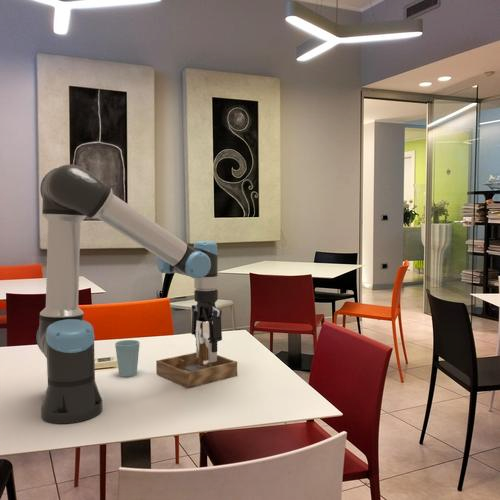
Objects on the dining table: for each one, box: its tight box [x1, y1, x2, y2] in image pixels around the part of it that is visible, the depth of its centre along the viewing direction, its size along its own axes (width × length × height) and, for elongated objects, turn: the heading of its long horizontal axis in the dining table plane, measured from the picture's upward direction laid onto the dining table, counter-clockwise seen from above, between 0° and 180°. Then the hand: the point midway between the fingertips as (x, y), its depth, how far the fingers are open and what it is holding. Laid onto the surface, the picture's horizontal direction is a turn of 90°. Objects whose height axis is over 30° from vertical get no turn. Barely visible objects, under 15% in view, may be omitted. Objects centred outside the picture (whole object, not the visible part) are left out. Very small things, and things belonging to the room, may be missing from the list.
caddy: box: [155, 351, 238, 389], centre depth 166 cm, size 19×18×4 cm
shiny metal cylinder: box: [195, 318, 216, 368], centre depth 168 cm, size 7×7×15 cm
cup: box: [114, 339, 141, 378], centre depth 166 cm, size 8×8×10 cm
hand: (206, 359), depth 168 cm, fingers closed on shiny metal cylinder, 6 cm apart
